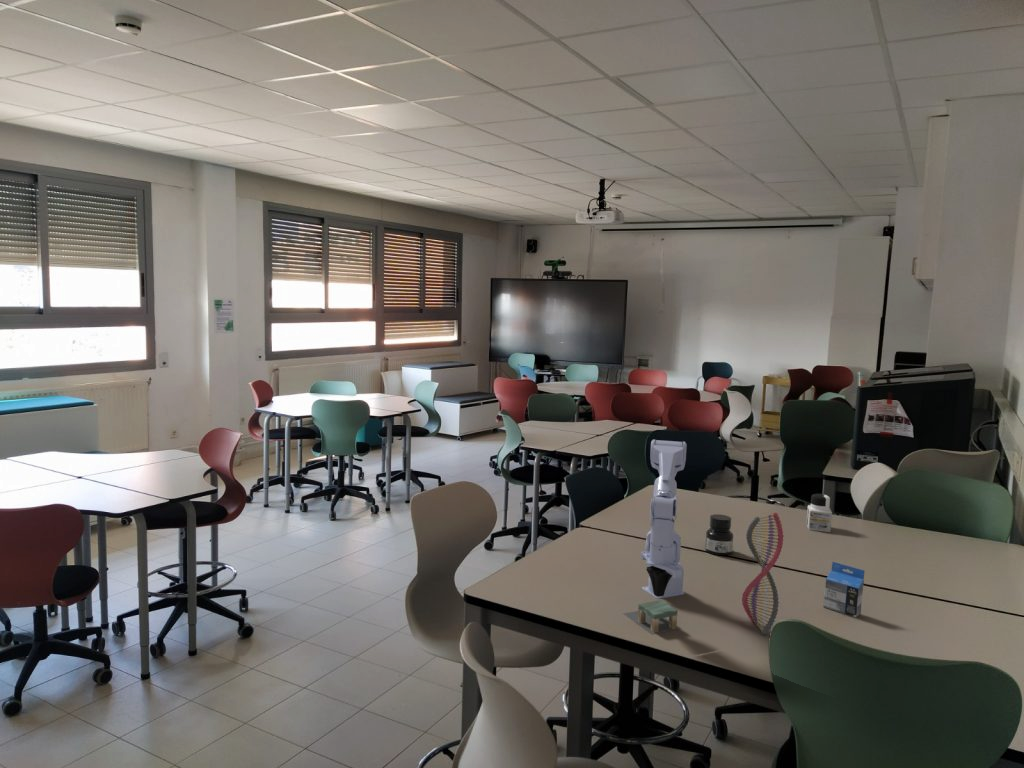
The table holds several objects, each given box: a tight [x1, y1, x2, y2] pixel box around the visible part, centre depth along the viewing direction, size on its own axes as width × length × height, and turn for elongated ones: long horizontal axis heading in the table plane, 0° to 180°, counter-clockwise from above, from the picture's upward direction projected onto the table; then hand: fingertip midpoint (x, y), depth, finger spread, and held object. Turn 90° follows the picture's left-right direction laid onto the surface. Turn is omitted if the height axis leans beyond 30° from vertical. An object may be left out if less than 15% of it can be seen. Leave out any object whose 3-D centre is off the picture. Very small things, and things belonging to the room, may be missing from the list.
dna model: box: [741, 511, 784, 636], centre depth 180 cm, size 9×9×30 cm
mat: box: [623, 610, 682, 635], centre depth 183 cm, size 9×13×1 cm
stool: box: [637, 599, 678, 632], centre depth 181 cm, size 5×7×7 cm
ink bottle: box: [704, 513, 734, 556], centre depth 239 cm, size 10×9×12 cm
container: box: [806, 493, 833, 533], centre depth 269 cm, size 8×8×13 cm
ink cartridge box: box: [823, 561, 865, 618], centre depth 193 cm, size 9×4×12 cm, turn 45°
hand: (658, 595), depth 180 cm, fingers closed
